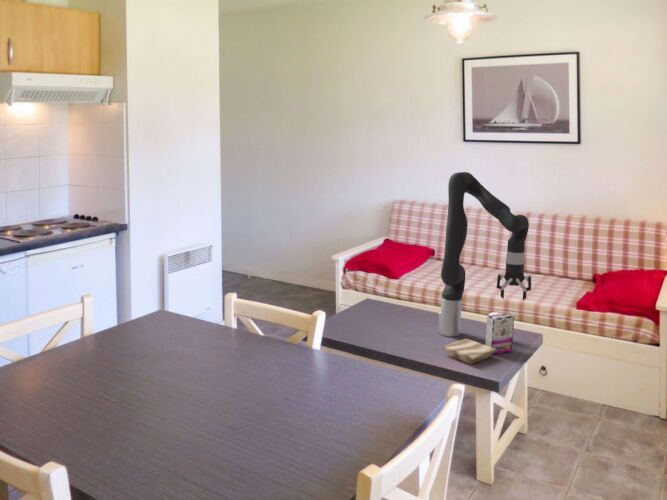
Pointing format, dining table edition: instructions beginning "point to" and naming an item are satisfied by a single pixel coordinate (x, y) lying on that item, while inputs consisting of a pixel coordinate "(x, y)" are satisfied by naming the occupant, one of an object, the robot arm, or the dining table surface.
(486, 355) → the stand
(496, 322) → the candy bar box
